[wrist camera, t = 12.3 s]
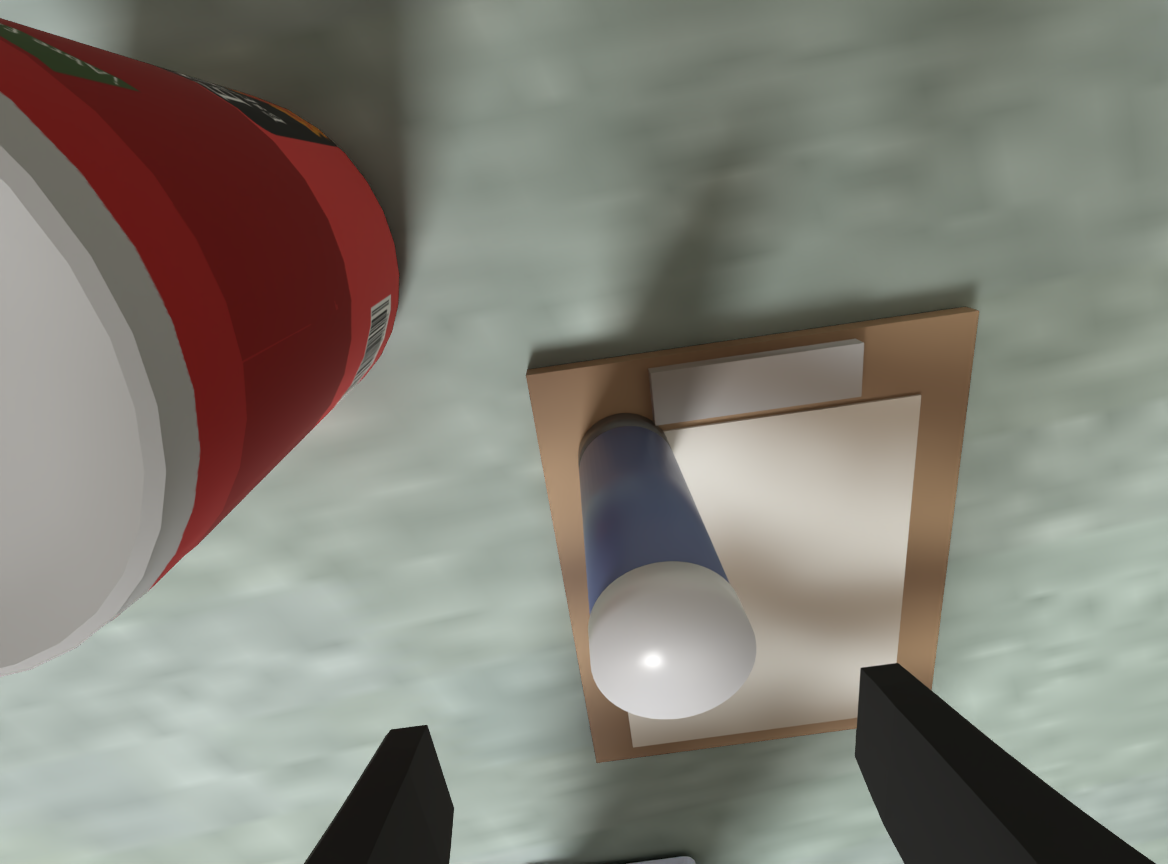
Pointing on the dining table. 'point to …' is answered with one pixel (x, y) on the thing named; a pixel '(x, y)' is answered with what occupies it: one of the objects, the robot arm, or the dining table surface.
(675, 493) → the blue cylindrical bottle
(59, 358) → the canned food
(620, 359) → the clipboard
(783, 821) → the dining table surface
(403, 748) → the robot arm
